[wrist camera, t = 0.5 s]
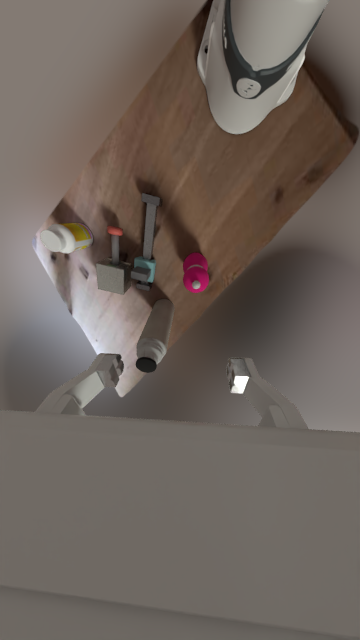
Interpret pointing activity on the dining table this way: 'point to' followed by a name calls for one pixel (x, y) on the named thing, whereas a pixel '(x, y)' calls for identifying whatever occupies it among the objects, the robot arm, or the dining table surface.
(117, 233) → the plunger
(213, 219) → the dining table surface
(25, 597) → the robot arm
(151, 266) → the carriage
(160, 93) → the dining table surface
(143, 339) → the thermos bottle
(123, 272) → the cabinet
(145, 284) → the rail
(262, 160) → the dining table surface
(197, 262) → the pepper mill
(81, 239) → the supplement bottle
